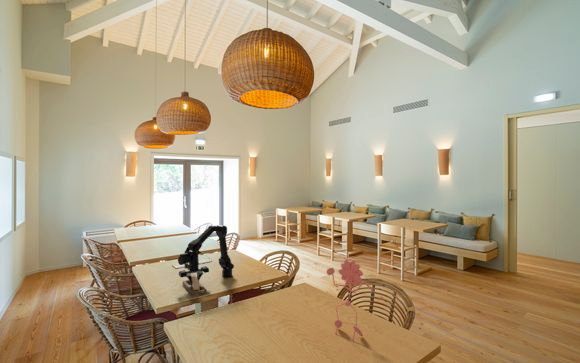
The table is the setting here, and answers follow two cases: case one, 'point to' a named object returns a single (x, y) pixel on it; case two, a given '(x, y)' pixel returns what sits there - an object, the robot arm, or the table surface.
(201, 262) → the baseboard molding
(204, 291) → the frame
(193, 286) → the clay strip
